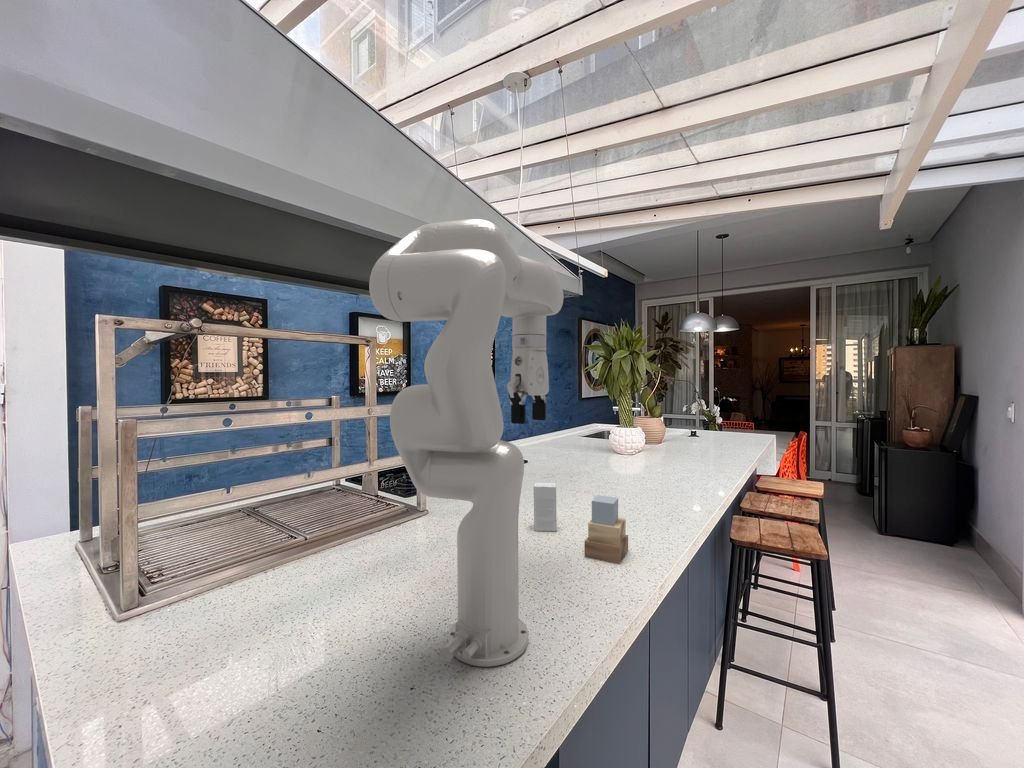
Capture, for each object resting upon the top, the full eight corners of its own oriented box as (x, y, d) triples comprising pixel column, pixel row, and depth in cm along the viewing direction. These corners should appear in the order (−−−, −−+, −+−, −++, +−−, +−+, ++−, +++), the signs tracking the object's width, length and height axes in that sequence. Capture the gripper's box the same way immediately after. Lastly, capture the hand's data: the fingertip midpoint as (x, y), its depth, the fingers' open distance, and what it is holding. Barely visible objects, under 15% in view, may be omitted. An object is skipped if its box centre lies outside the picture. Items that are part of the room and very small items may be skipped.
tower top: (619, 546, 93) (619, 528, 93) (588, 540, 96) (588, 523, 96) (625, 535, 99) (625, 518, 99) (596, 530, 103) (596, 514, 102)
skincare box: (556, 526, 116) (556, 482, 115) (556, 531, 111) (556, 486, 111) (534, 525, 116) (534, 482, 116) (533, 531, 112) (533, 486, 112)
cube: (613, 526, 94) (613, 503, 94) (591, 522, 97) (591, 500, 96) (618, 518, 99) (618, 497, 99) (597, 515, 101) (597, 495, 101)
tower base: (619, 565, 93) (619, 547, 92) (584, 558, 96) (584, 540, 96) (628, 552, 100) (628, 535, 99) (595, 545, 103) (595, 529, 103)
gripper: (525, 340, 84) (525, 426, 84) (560, 346, 99) (560, 419, 99) (493, 342, 88) (493, 424, 88) (532, 347, 103) (532, 418, 103)
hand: (529, 421), depth 94 cm, fingers open, 9 cm apart
